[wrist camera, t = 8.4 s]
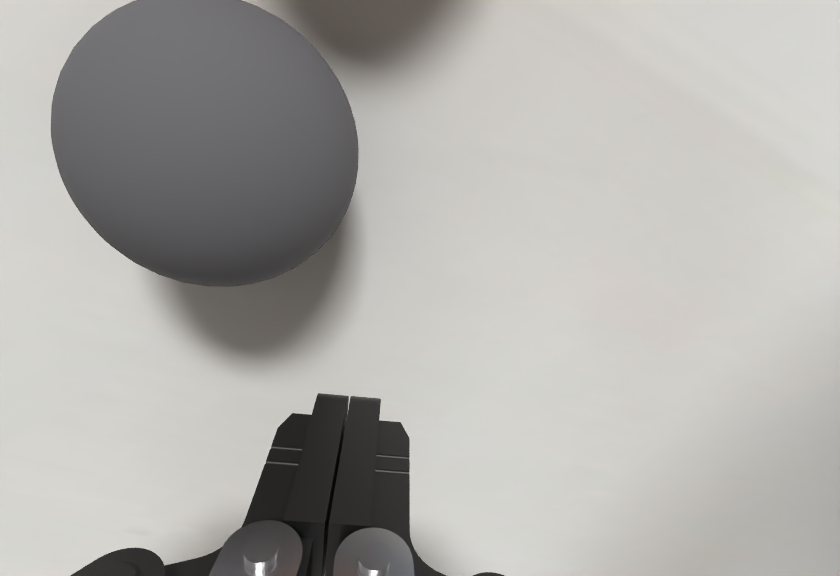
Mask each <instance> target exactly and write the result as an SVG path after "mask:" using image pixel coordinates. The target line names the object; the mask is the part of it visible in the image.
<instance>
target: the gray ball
mask: <svg viewBox="0 0 840 576" xmlns="http://www.w3.org/2000/svg"><path fill="white" fill-rule="evenodd" d="M51 138H52V144H53V150H54V154H55V158H56V162H57V166H58V169H59V172H60V175H61V178H62V180H63V183H64V185H65V187H66V189H67V191H68V193H69V195H70V197H71V199H72V200H73V202H74V204H75V205H76V207H77V208H78V210H79V211H80V213H81V214H82V215H83V216H84V218H85V219H86V220H87V221H88V223H89V224H90V225H91V226H92V227H93V228H94V230H95V231H96V232H97V233H98V234H99V235H100V236H101V237H102V238H103V239H104V240H105V241H106V242H107V243H109V244H110V245H111V246H112V247H114V248H115V249H116V250H118V251H119V252H120V253H122V254H123V255H124V256H126V257H127V258H128V259H130V260H132V261H133V262H135V263H137V264H139V265H141V266H143V267H145V268H147V269H149V270H151V271H153V272H155V273H157V274H159V275H162V276H166V277H169V278H172V279H175V280H178V281H181V282H185V283H192V284H198V285H205V286H239V285H246V284H252V283H256V282H260V281H263V280H267V279H270V278H273V277H276V276H278V275H280V274H282V273H284V272H286V271H288V270H290V269H292V268H294V267H296V266H298V265H299V264H300V263H302V262H303V261H305V260H306V259H307V258H309V257H310V256H311V255H313V254H314V253H315V252H316V251H317V250H318V249H319V248H320V247H321V246H322V245H323V244H324V243H325V242H326V241H327V240H328V239H329V238H330V236H331V235H332V234H333V232H334V231H335V229H336V228H337V226H338V225H339V223H340V221H341V220H342V218H343V217H344V215H345V213H346V210H347V208H348V206H349V203H350V200H351V198H352V195H353V191H354V187H355V184H356V178H357V171H358V138H357V131H356V126H355V121H354V117H353V114H352V110H351V107H350V104H349V102H348V99H347V97H346V94H345V92H344V90H343V88H342V86H341V84H340V82H339V81H338V79H337V77H336V76H335V74H334V73H333V71H332V69H331V68H330V66H329V65H328V64H327V62H326V61H325V60H324V58H323V57H322V56H321V55H320V53H319V52H318V51H317V50H316V49H315V47H314V46H313V45H312V44H310V43H309V42H308V41H307V40H306V39H305V38H304V37H303V36H302V35H301V34H300V33H298V32H297V31H296V30H295V29H293V28H292V27H291V26H289V25H288V24H287V23H285V22H284V21H283V20H281V19H280V18H278V17H276V16H274V15H272V14H270V13H269V12H267V11H265V10H263V9H261V8H259V7H257V6H255V5H253V4H250V3H247V2H244V1H241V0H136V1H133V2H131V3H129V4H127V5H124V6H122V7H120V8H118V9H116V10H115V11H113V12H112V13H110V14H108V15H107V16H106V17H104V18H103V19H102V20H100V21H99V22H98V23H96V24H95V25H94V26H92V28H91V29H90V30H89V31H88V32H87V33H86V34H85V35H84V36H83V38H82V39H81V40H80V41H79V42H78V43H77V45H76V46H75V47H74V48H73V50H72V52H71V54H70V55H69V57H68V59H67V61H66V63H65V65H64V66H63V68H62V70H61V72H60V75H59V78H58V81H57V85H56V88H55V92H54V96H53V101H52V112H51Z"/></svg>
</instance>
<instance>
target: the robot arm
mask: <svg viewBox="0 0 840 576" xmlns="http://www.w3.org/2000/svg"><path fill="white" fill-rule="evenodd" d="M348 401H349V396H343V395H331V394H320V393H318V395H317V398H316V402H315V405H314V409H313V413H312V415H307V414H295V413H292V414H291V415H290V416H289V417H288V418H287V419H286V420H285V421H284V422H283V423H282V424H281V425H280V426H279V427H278V429H277V432H276V435H275V437H274V440H273V443H272V447H271V449H270V451H269V454H268V457H267V460H266V464H265V465H264V468H263V471H262V474H261V477H260V479H259V482H258V485H257V488H256V491H255V493H254V496H253V499H252V502H251V505H250V507H249V510H248V513H247V516H246V519H245V521H244V523H243V526H242V527H241V528H240V529H239V530H237V531H236V532H234V533H233V534H232V535H231V536H230V537H229V538H228V540H227V541H226V542H225V544H224V545H223V547H222V548H220V549H218V550H216V551H215V552H213V553H210V554H208V555H206V556H203V557H199V558H196V559H192V560H187V561H183V562H178V563H174V564H170V565H165V566H164V564H163V562H162V560H161V559H160V557H159V556H158V555H156V554H155V553H153V552H152V551H150V550H146V549H142V548H127V549H121V550H117V551H114V552H111V553H109V554H106V555H104V556H102V557H100V558H98V559H97V560H95V561H93V562H92V563H90V564H88V565H87V566H85V567H84V568H82V569H80V570H79V571H77V572H76V573H74V574H72V575H71V576H446V575H443V574H441V573H439V572H437V571H435V570H433V569H432V568H430V567H429V566H428V565H427V564H425V563H424V562H423V561H422V560H421V558H420V557H419V556H418V555H417V553H416V552H415V550H414V548H413V545H412V543H411V539H410V523H409V437H408V435H407V433H406V431H405V430H404V428H403V426H402V424H401V422H390V421H379V414H380V402H381V399H378V398H367V397H355V396H351V398H350V404H349V410H348ZM347 414H348V415H347ZM325 571H326V572H325ZM473 576H504V575H501V574H497V573H489V572H485V573H479V574H476V575H473Z"/></svg>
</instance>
